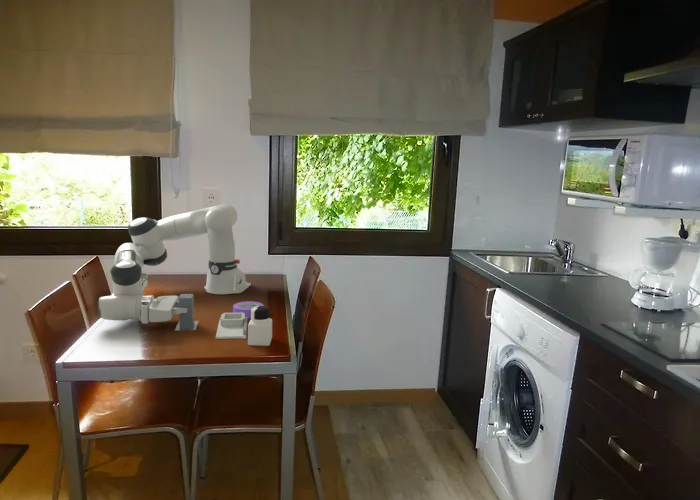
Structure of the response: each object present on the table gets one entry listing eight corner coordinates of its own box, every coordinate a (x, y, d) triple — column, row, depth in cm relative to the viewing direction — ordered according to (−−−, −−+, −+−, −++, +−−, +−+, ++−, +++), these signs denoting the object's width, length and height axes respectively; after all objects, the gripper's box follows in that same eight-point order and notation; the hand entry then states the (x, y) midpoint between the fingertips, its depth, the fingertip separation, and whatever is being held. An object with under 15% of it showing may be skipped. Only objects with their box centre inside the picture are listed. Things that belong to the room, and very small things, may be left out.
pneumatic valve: (124, 302, 199) (129, 274, 198) (132, 296, 211) (137, 268, 210) (138, 305, 201) (144, 276, 199) (145, 298, 212) (150, 271, 211)
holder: (220, 320, 186) (220, 311, 186) (247, 319, 188) (247, 310, 188) (215, 339, 167) (215, 329, 166) (246, 338, 169) (246, 328, 168)
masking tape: (231, 311, 199) (231, 301, 198) (260, 309, 203) (260, 300, 202) (235, 320, 188) (235, 310, 187) (266, 318, 192) (266, 308, 191)
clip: (181, 323, 180) (180, 294, 178) (194, 322, 181) (193, 294, 179) (179, 327, 176) (178, 298, 174) (192, 327, 177) (192, 298, 174)
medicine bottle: (272, 338, 170) (272, 304, 168) (269, 346, 163) (269, 311, 161) (251, 337, 170) (251, 304, 168) (247, 345, 163) (247, 310, 161)
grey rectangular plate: (178, 321, 183) (179, 321, 183) (198, 321, 184) (198, 320, 184) (174, 331, 173) (174, 330, 173) (195, 330, 174) (195, 330, 174)
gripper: (153, 307, 185) (192, 307, 188) (141, 325, 165) (184, 325, 168) (153, 291, 184) (192, 291, 187) (141, 307, 164) (184, 307, 167)
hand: (188, 307), depth 177 cm, fingers closed on clip, 5 cm apart
